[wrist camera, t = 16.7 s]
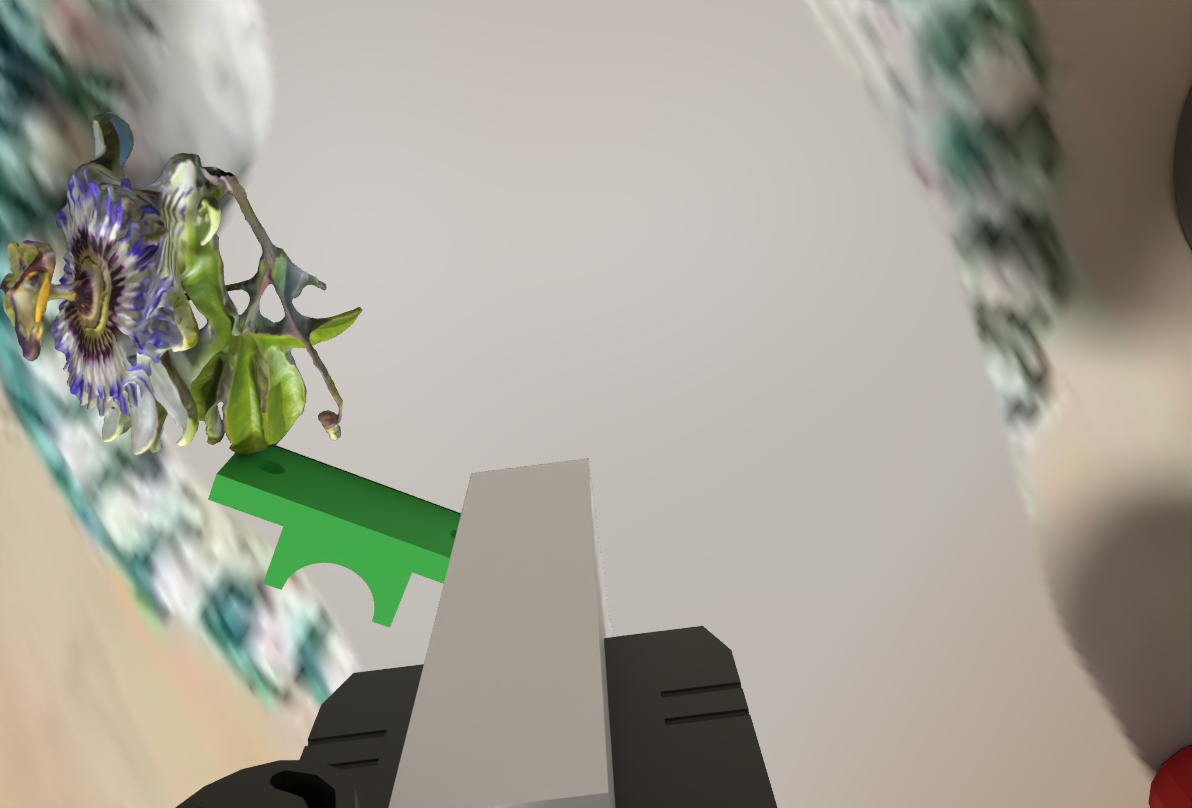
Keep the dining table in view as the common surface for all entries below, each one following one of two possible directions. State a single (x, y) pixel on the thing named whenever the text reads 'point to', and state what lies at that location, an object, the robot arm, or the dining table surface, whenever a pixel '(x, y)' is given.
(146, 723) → the dining table surface
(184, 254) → the passion flower
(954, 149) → the dining table surface
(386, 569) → the pipe clamp
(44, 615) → the dining table surface
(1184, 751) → the plastic cup
